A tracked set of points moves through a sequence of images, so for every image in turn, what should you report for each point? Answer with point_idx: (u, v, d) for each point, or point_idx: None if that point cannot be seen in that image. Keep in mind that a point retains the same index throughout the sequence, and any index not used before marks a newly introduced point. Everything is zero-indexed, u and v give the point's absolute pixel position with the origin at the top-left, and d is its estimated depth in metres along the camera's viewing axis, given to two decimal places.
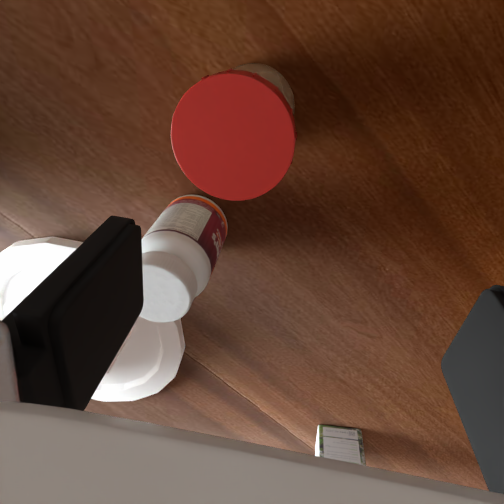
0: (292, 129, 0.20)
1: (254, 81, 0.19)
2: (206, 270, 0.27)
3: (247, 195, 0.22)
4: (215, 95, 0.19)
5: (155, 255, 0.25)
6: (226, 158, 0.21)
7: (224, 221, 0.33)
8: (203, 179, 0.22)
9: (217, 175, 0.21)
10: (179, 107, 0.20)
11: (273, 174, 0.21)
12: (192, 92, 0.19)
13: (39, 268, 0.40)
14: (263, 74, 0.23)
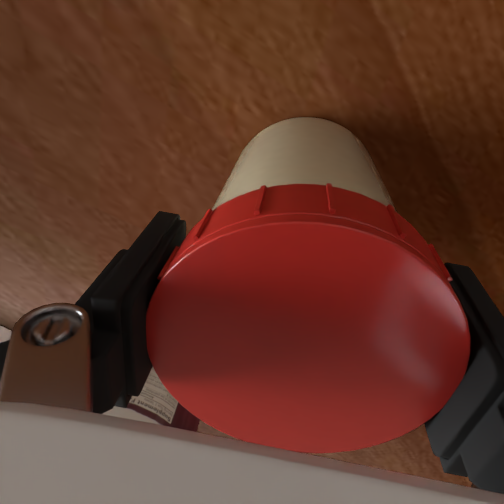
0: (462, 371, 0.08)
1: (410, 259, 0.06)
2: None
3: (301, 447, 0.10)
4: (286, 267, 0.07)
5: None
6: (274, 385, 0.09)
7: None
8: (208, 406, 0.09)
9: (243, 406, 0.09)
10: (178, 271, 0.07)
11: (375, 430, 0.09)
12: (223, 247, 0.07)
13: None
14: (365, 172, 0.11)
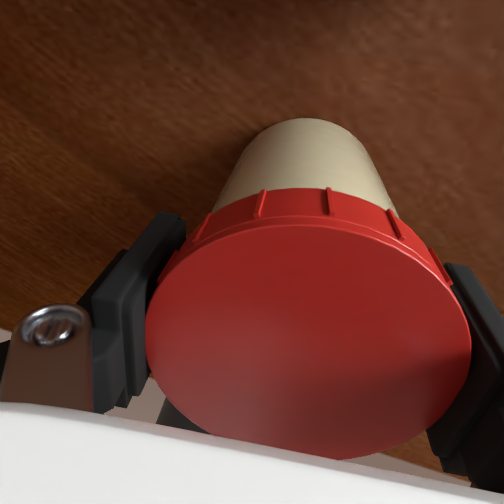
0: (464, 376, 0.08)
1: (410, 262, 0.06)
2: None
3: None
4: (286, 269, 0.07)
5: None
6: (273, 391, 0.08)
7: None
8: (207, 412, 0.09)
9: (242, 412, 0.09)
10: (177, 274, 0.07)
11: (376, 438, 0.09)
12: (222, 250, 0.07)
13: None
14: None
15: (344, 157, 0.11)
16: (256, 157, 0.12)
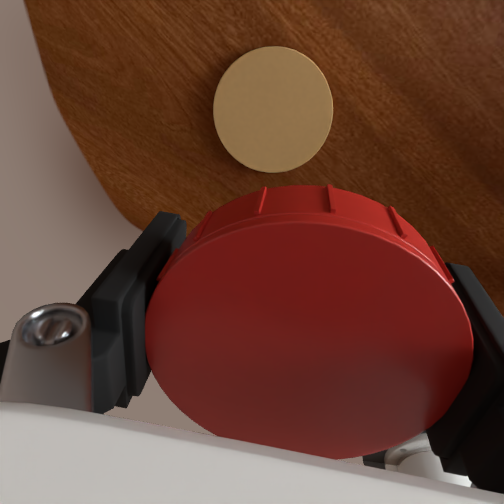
0: (465, 375, 0.07)
1: (412, 260, 0.06)
2: None
3: None
4: (286, 267, 0.07)
5: None
6: (274, 389, 0.08)
7: None
8: (207, 411, 0.09)
9: (242, 411, 0.09)
10: (177, 272, 0.07)
11: (377, 437, 0.09)
12: (222, 247, 0.07)
13: None
14: None
15: None
16: None
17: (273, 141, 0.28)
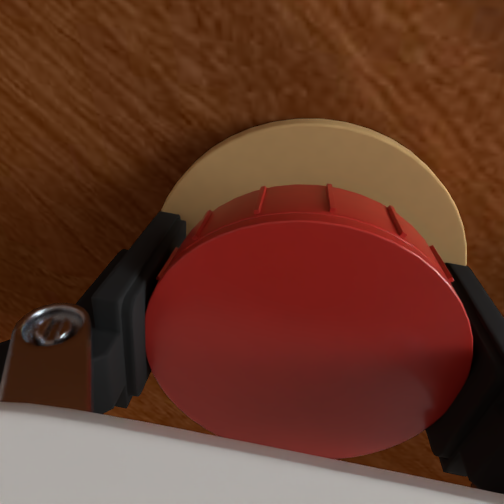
0: (465, 374, 0.07)
1: (411, 259, 0.06)
2: None
3: None
4: (286, 266, 0.07)
5: None
6: (274, 388, 0.08)
7: None
8: (207, 410, 0.09)
9: (242, 410, 0.09)
10: (177, 270, 0.07)
11: (377, 436, 0.09)
12: (222, 246, 0.07)
13: None
14: None
15: None
16: None
17: None
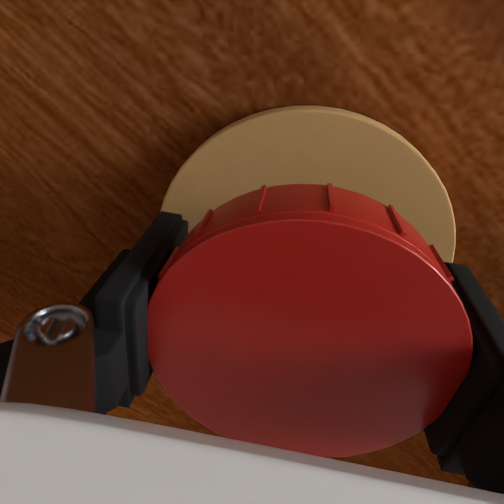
0: (465, 372, 0.07)
1: (411, 257, 0.06)
2: None
3: (301, 452, 0.10)
4: (286, 265, 0.07)
5: None
6: (274, 387, 0.08)
7: None
8: (207, 408, 0.09)
9: (242, 409, 0.09)
10: (178, 269, 0.07)
11: (377, 435, 0.09)
12: (222, 245, 0.07)
13: None
14: None
15: None
16: None
17: None
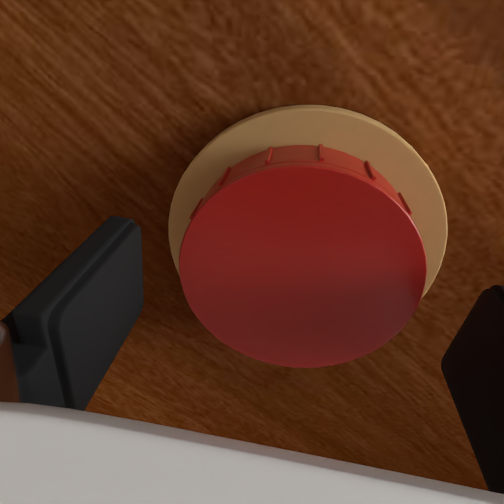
0: (422, 286, 0.10)
1: (378, 193, 0.09)
2: None
3: (300, 362, 0.12)
4: (288, 202, 0.09)
5: None
6: (278, 305, 0.11)
7: None
8: (226, 326, 0.12)
9: (254, 325, 0.12)
10: (208, 207, 0.10)
11: (358, 343, 0.11)
12: (241, 187, 0.09)
13: None
14: None
15: None
16: None
17: None
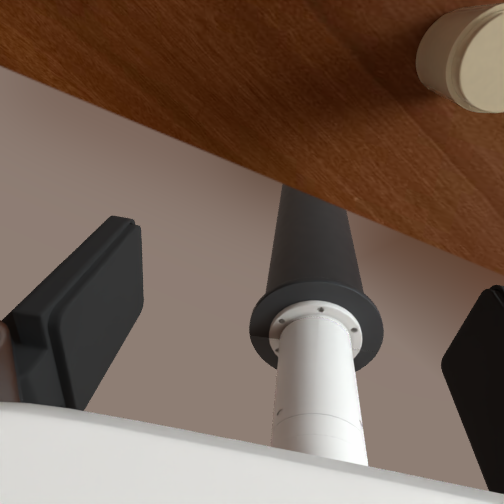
0: None
1: None
2: None
3: None
4: None
5: None
6: None
7: None
8: None
9: None
10: None
11: None
12: None
13: None
14: None
15: None
16: (466, 11, 0.26)
17: None
